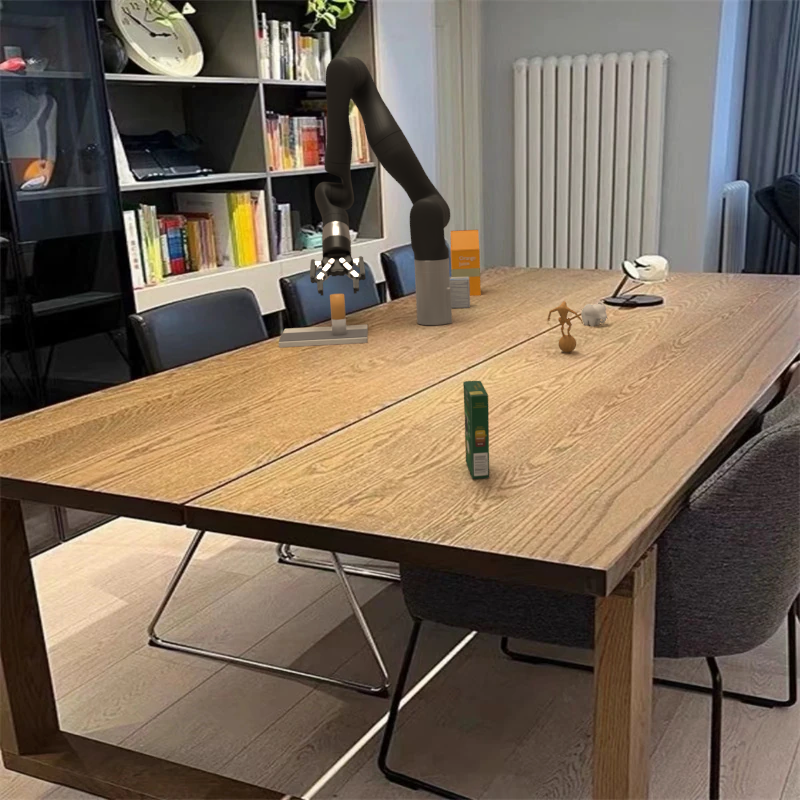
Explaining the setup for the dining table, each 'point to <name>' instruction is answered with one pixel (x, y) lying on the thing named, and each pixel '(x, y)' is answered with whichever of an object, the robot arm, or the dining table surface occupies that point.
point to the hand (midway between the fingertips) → (338, 292)
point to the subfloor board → (322, 336)
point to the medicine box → (460, 292)
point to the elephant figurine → (594, 314)
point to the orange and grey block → (338, 314)
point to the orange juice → (466, 258)
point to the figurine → (566, 341)
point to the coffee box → (476, 429)
